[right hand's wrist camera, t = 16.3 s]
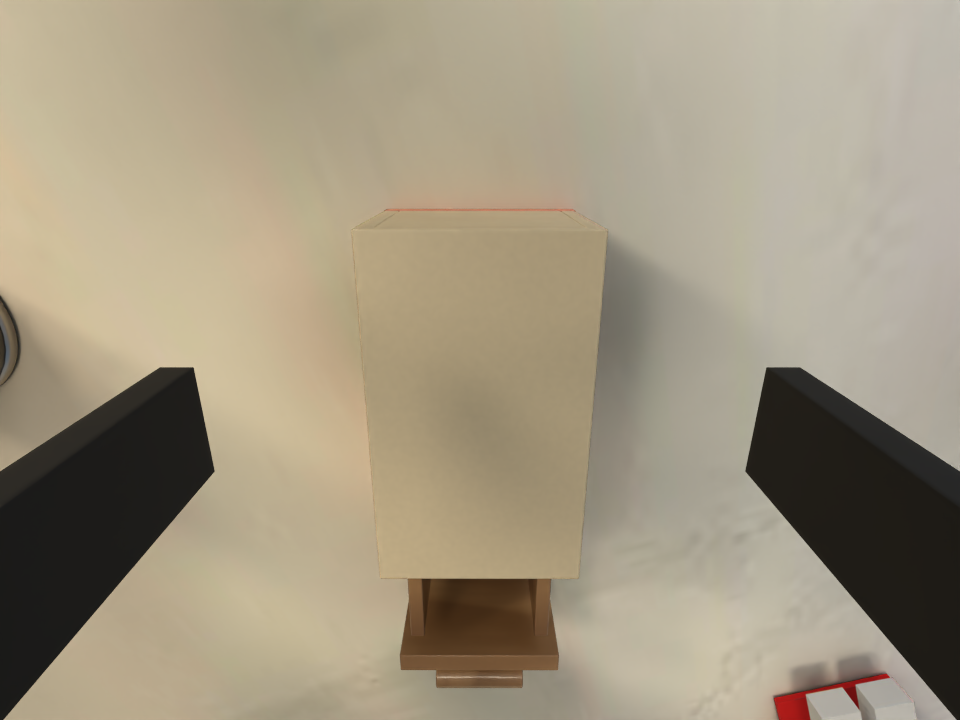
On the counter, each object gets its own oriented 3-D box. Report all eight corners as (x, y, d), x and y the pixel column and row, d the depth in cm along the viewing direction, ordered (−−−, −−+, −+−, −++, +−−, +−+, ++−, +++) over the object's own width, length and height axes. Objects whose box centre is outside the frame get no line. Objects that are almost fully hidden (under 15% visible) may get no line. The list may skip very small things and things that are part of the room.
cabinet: (556, 482, 37) (579, 579, 29) (402, 482, 37) (379, 579, 29) (573, 209, 31) (609, 229, 22) (386, 209, 31) (350, 228, 22)
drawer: (541, 634, 41) (553, 731, 34) (417, 634, 41) (405, 731, 34) (556, 360, 33) (576, 413, 26) (403, 359, 33) (382, 413, 26)
